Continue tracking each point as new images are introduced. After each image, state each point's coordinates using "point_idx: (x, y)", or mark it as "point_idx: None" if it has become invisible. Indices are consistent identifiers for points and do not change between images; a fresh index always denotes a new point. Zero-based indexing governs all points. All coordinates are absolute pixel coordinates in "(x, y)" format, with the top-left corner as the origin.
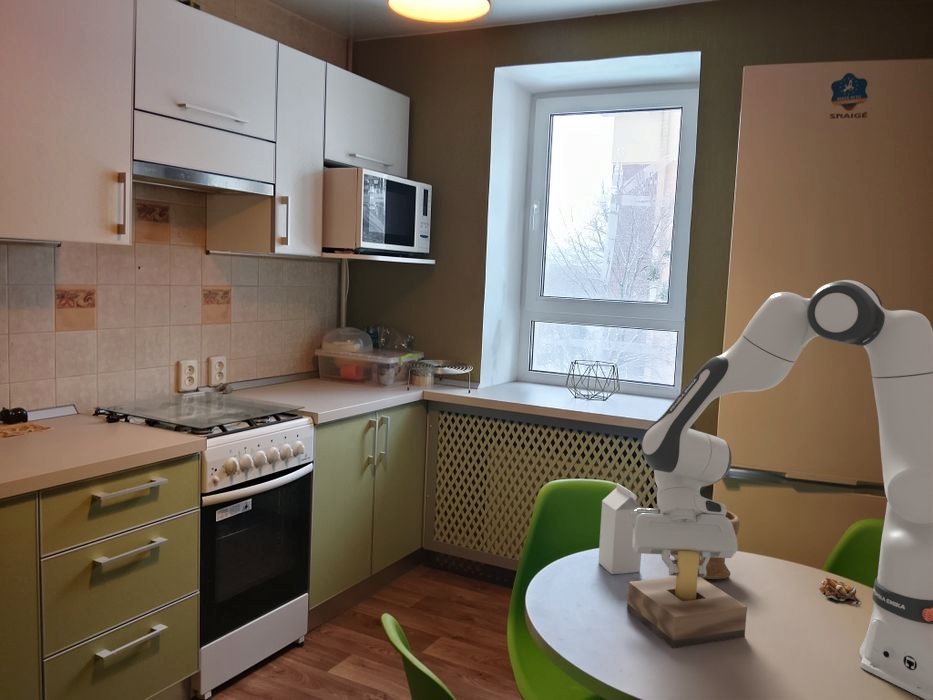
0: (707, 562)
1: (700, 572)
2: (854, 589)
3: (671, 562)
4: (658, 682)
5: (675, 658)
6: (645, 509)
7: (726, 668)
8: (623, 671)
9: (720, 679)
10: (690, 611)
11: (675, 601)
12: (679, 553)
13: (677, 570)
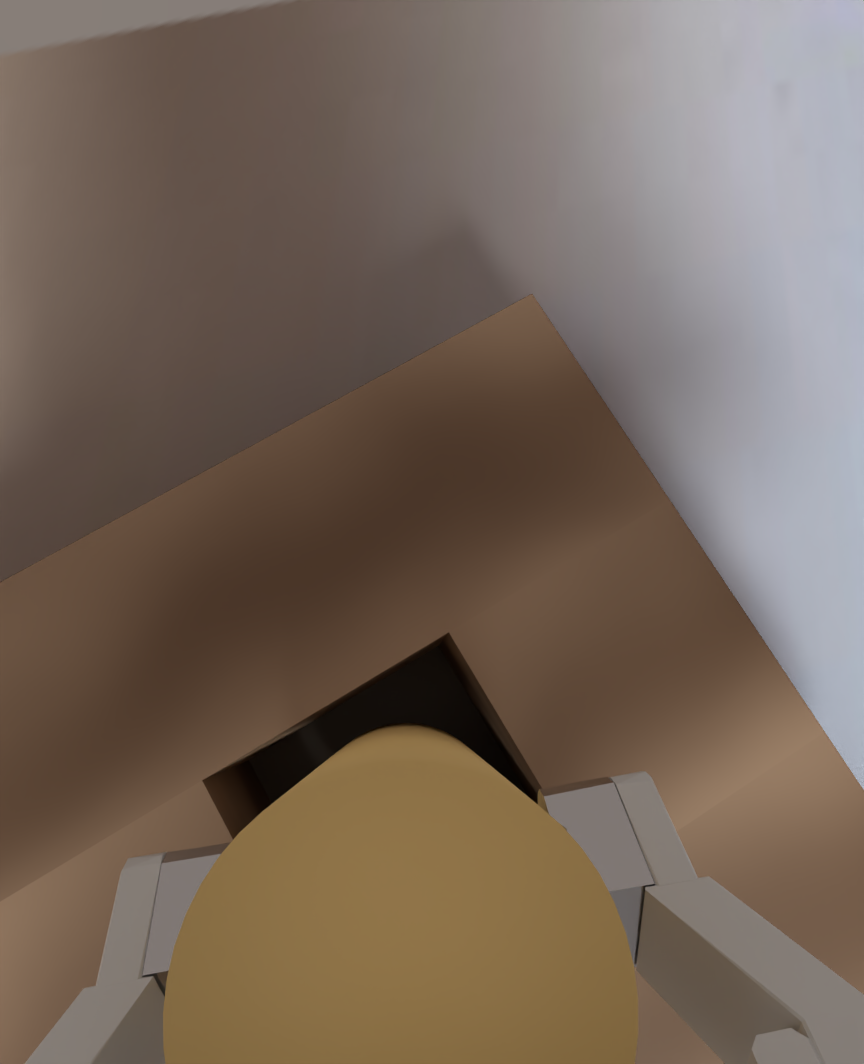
0: (35, 1057)
1: (215, 851)
2: None
3: (685, 901)
4: (587, 24)
5: (489, 279)
6: None
7: (203, 236)
8: (767, 85)
9: (259, 117)
10: (393, 430)
11: (516, 611)
12: (610, 951)
13: (560, 800)
